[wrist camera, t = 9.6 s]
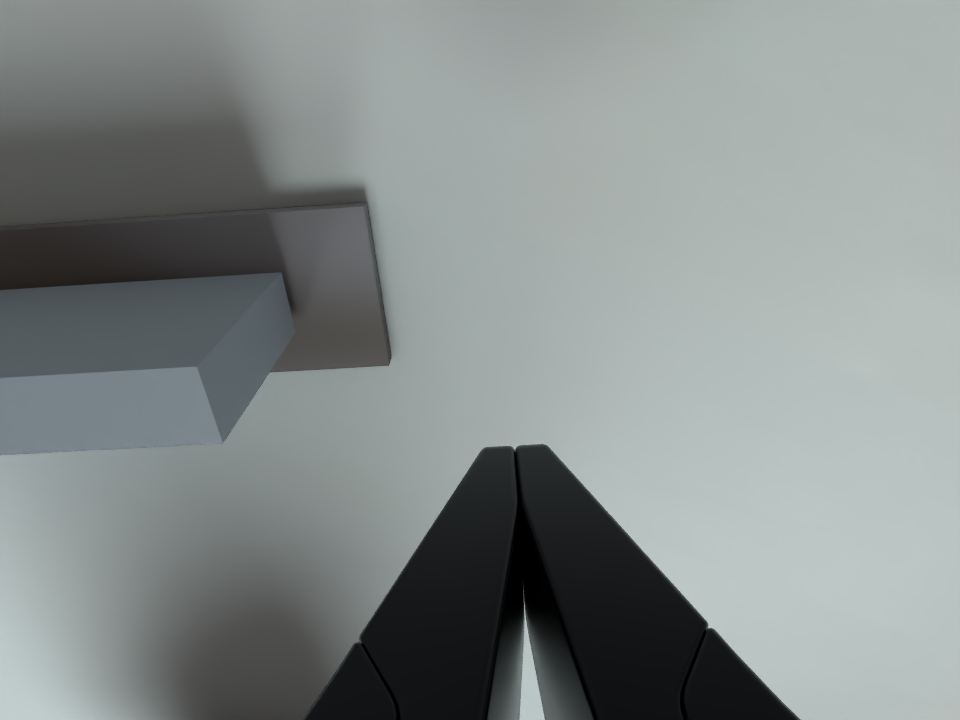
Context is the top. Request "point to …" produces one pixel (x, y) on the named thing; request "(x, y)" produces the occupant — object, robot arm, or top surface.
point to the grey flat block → (136, 361)
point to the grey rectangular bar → (230, 268)
